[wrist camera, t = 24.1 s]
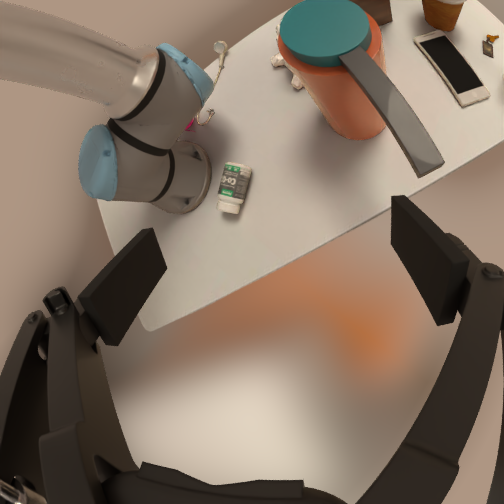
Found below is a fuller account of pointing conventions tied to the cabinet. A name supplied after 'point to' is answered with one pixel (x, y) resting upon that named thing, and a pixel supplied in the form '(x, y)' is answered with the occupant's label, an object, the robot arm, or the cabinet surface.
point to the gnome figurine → (280, 60)
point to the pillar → (376, 9)
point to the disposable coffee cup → (442, 13)
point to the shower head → (219, 48)
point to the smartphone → (452, 67)
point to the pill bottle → (233, 187)
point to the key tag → (489, 45)
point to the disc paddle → (357, 69)
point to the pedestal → (342, 91)
